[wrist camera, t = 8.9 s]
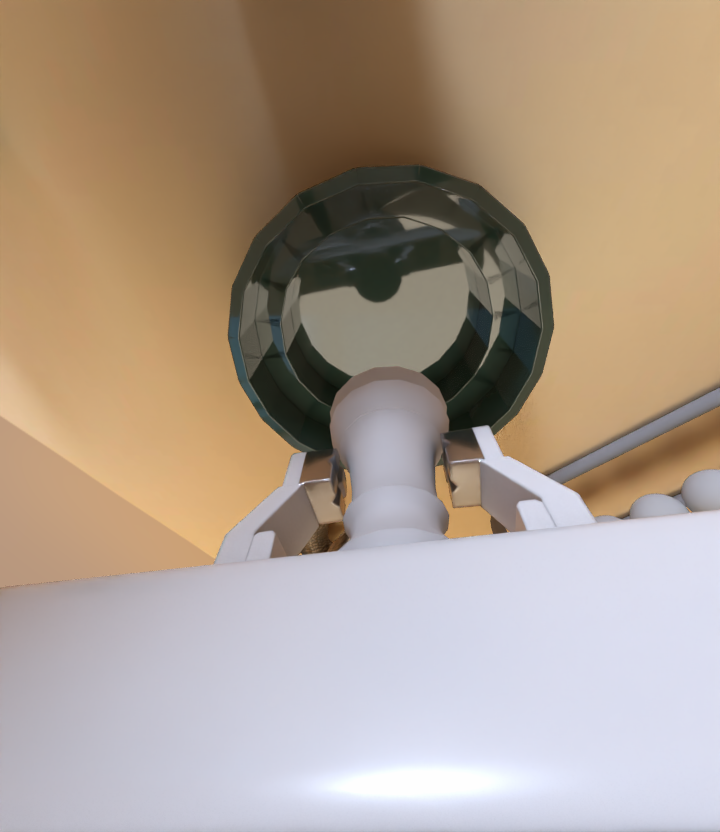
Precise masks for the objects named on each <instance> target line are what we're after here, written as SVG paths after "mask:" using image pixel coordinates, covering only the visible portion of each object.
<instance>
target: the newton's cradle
mask: <svg viewBox="0 0 720 832" xmlns="http://www.w3.org/2000/svg"><path fill="white" fill-rule="evenodd" d="M719 406H720V387H719V388H717V389H715V390H714V391H712V392H710V393H708V394H706V395H704V396H702V397H700V398H698V399H696V400H694V401H692V402H690V403H688V404H686V405H684V406H682V407H680V408H678V409H676V410H675V411H673V412H671V413H669V414H667V415H665V416H663V417H661V418H659V419H657V420H655V421H653V422H651V423H649V424H647V425H645V426H643V427H641V428H639V429H638V430H636V431H634V432H632V433H630V434H628V435H626V436H624V437H622V438H620V439H618V440H616V441H614V442H612V443H610V444H608V445H606V446H604V447H602V448H601V449H599V450H597V451H595V452H593V453H591V454H589V455H587V456H585V457H583V458H581V459H579V460H577V461H575V462H573V463H571V464H569V465H567V466H565V467H564V468H562V469H560V470H558V471H556V472H554V473H552V474H550V475H548V476H547V477H549V478H551V479H552V480H554V481H556V482H558V483H560V484H564V483H566V482H568V481H570V480H572V479H574V478H576V477H578V476H580V475H582V474H584V473H586V472H588V471H590V470H592V469H594V468H596V467H598V466H600V465H602V464H604V463H606V462H608V461H610V460H612V459H614V458H616V457H618V456H620V455H622V454H624V453H626V452H628V451H630V450H632V449H634V448H636V447H638V446H640V445H642V444H644V443H646V442H648V441H650V440H652V439H654V438H656V437H658V436H660V435H662V434H664V433H666V432H668V431H670V430H672V429H674V428H676V427H678V426H680V425H683V424H685V423H687V422H689V421H691V420H693V419H695V418H697V417H699V416H701V415H703V414H705V413H707V412H709V411H711V410H713V409H715V408H717V407H719ZM686 507H688V508H689V509H690V510H691V511H692V512H701V511H710V510H719V509H720V470H703V471H699V472H696V473H694V474H692V475H690V476H689V477H688V478H687V479H686V480H685V481H684V483H683V485H682V489H681V494H678V495H676V496H674V497H670V496H667V495H663V494H648V495H644V496H642V497H640V498H638V499H637V500H636V501H635V502H634V503H633V504H632V506H631V509H630V516H627V517H625V518H623V519H619V518H617V517H613V516H598V517H595V520H596V521H597V523H599V522H609V521H618V520H627V519H636V518H645V517H655V516H664V515H673V514H682V513H690V512H689V511H688V509H687V508H686ZM490 522H491V528H492V531H493V534H499V533H507V530H506V528H505V527H504V526H503V525H502V524H501V523H499V522H498V521H497V520H496V519H495V518H494V517H493V516H491V520H490Z"/></svg>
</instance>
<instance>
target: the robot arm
mask: <svg viewBox="0 0 720 832" xmlns="http://www.w3.org/2000/svg"><path fill="white" fill-rule="evenodd" d="M440 441H441V446H442V450H443V453H442V459H443V467H444V472H445V477H446V481H447V483H448V485H449V493H450V497H451V501H452V505H453V508H460V507H471V506H481V507H482V508H483V509H485V510H486V511H487V512H488V513H489V514H490V515H491V516H493V517H494V518H495V519H496V520H497V521H498V522H499V523H501V524H502V525H503V526H504V527H505V528H506V529H507V530H508V531H510V532H508V533H499V534H490V535H480V536H471V537H462V538H452V539H443V540H434V541H424V542H415V543H406V544H397V545H388V546H379V547H370V548H361V549H352V550H343V551H334V552H324V553H315V554H306V555H299V554H300V552H301V551H302V550H303V548H304V547H305V545H306V544H307V543H308V541H309V540H310V538H311V537H312V536H313V534H314V533H315V531H316V530H317V529H318V527H319V525H321V524H328V523H335V522H341V521H343V517H344V515H345V507H346V505H345V502H344V497H345V496H346V493H347V485H346V477H345V472H344V468H343V467H342V466H340V455H339V452H338V450H337V449H336V448H332V449H324V450H316V451H308V452H301V453H294V454H293V455H292V456H291V458H290V462H289V465H288V468H287V472H286V475H285V479H284V482H283V485H282V487H278V488H277V489H276V490H274V491H273V492H272V493H271V494H270V495H269V496H268V497H267V498H266V499H265V500H263V501H262V502H261V503H260V504H259V505H258V506H257V507H256V508H255V509H253V510H252V511H251V512H250V513H249V514H248V515H247V516H246V517H245V518H244V519H242V520H241V521H240V522H239V523H238V524H237V525H236V526H235V527H234V528H233V529H231V530H230V531H229V532H228V533H227V534H226V535H225V537H224V540H223V542H222V544H221V547H220V549H219V552H218V554H217V557H216V559H215V561H214V564H213V565H204V566H195V567H186V568H177V569H167V570H158V571H149V572H140V573H130V574H122V575H112V576H102V577H93V578H84V579H75V580H65V581H56V582H47V583H39V584H27V585H17V586H7V587H2V588H0V832H720V509H719V510H710V511H701V512H691V513H682V514H673V515H664V516H655V517H645V518H636V519H627V520H618V521H609V522H599V523H597V521H596V520H595V518H594V517H593V515H592V514H591V512H590V510H589V509H588V507H587V506H586V504H585V503H584V501H583V500H582V498H581V497H580V495H579V494H578V493H577V492H575V491H573V490H571V489H569V488H567V487H565V486H564V485H562V484H560V483H558V482H556V481H554V480H552V479H551V478H549V477H547V476H545V475H543V474H541V473H539V472H537V471H536V470H534V469H532V468H530V467H528V466H526V465H524V464H523V463H521V462H519V461H517V460H515V459H513V458H511V457H509V456H506V457H504V456H503V454H502V451H501V449H500V447H499V445H498V443H497V441H496V439H495V437H494V435H493V433H492V431H491V429H490V427H489V426H488V425H485V426H479V427H474V428H471V429H464V430H458V431H451V432H444V433H440Z"/></svg>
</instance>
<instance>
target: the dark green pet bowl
mask: <svg viewBox="0 0 720 832" xmlns="http://www.w3.org/2000/svg"><path fill="white" fill-rule="evenodd" d="M553 330H554V320H553V308H552V297H551V286H550V276H549V273H548V271H547V268H546V266H545V264H544V262H543V260H542V258H541V256H540V254H539V252H538V250H537V248H536V246H535V244H534V242H533V240H532V238H531V236H530V234H529V232H528V230H527V228H526V226H525V225H524V223H523V222H522V221H520V220H519V219H518V218H517V217H516V216H515V215H514V214H512V213H511V212H510V211H509V210H508V209H507V208H506V207H505V206H503V205H502V204H501V203H500V202H499V201H498V200H497V199H496V198H494V197H493V196H492V195H491V194H490V193H489V192H488V191H487V190H485V189H484V188H483V187H482V186H480V185H479V184H476V183H473V182H470V181H468V180H465V179H462V178H459V177H456V176H453V175H450V174H447V173H444V172H442V171H439V170H436V169H433V168H430V167H427V166H424V165H419V164H414V165H394V166H375V167H357V168H356V169H355V168H353V169H351V170H349V171H346V172H344V173H342V174H340V175H338V176H335V177H333V178H331V179H329V180H327V181H324V182H322V183H320V184H318V185H315V186H313V187H311V188H309V189H307V190H304V191H302V192H300V193H298V195H295V196H294V197H293V198H292V199H291V201H290V202H289V203H288V204H287V205H286V206H285V207H284V208H283V209H282V210H281V211H280V212H279V213H278V214H277V215H276V216H275V217H274V218H273V219H272V220H271V221H270V222H269V223H268V224H267V225H266V226H265V227H264V228H263V229H262V230H261V231H260V232H259V233H258V234H257V235H256V237H254V239H253V241H252V243H251V246H250V248H249V250H248V252H247V254H246V257H245V259H244V261H243V263H242V265H241V268H240V270H239V272H238V274H237V276H236V279H235V281H234V283H233V285H232V292H231V303H230V315H229V327H228V340H229V344H230V348H231V352H232V356H233V360H234V364H235V368H236V372H237V376H238V380H239V382H240V385H241V386H242V388H243V389H244V391H245V393H246V394H247V396H248V398H249V399H250V401H251V402H252V404H253V406H254V407H255V409H256V411H257V412H258V414H259V415H260V417H261V418H262V420H263V421H264V422H266V423H267V424H268V425H269V426H270V427H271V428H272V429H273V430H274V431H275V432H277V433H278V434H279V435H280V436H281V437H282V438H283V439H284V440H285V441H287V442H288V443H289V444H290V445H291V446H293V447H294V448H296V449H298V450H300V451H301V452H308V451H316V450H324V449H332V448H333V445H332V439H331V432H330V423H331V416H330V411H331V408H332V405H333V402H334V399H335V396H336V393H337V392H338V391H339V390H340V389H341V388H342V387H343V386H344V385H345V384H346V383H347V382H348V381H349V380H350V379H351V378H352V377H354V376H356V375H358V374H360V373H363V372H365V371H367V370H370V369H372V368H376V367H394V366H400V367H403V368H406V369H409V370H412V371H415V372H419V373H422V374H423V375H424V376H425V377H426V378H428V379H429V380H430V381H431V382H432V383H433V384H435V385H436V386H437V387H438V388H439V390H440V392H441V394H442V397H443V399H444V401H445V403H446V406H447V412H446V414H447V416H448V418H449V430H448V432H451V431H458V430H464V429H471V428H474V427H479V426H485V425H488V426H489V427H490V429H491V431H492V433H493V435H495V434H496V433H497V432H498V431H500V430H501V429H502V428H503V427H504V426H505V425H506V424H507V423H508V422H509V421H510V420H511V419H513V418H514V417H515V416H516V415H517V413H519V411H520V409H521V408H522V406H523V404H524V403H525V401H526V400H527V398H528V396H529V395H530V393H531V391H532V390H533V388H534V387H535V385H536V383H537V382H538V380H539V378H540V377H541V375H542V373H543V369H544V365H545V361H546V357H547V353H548V349H549V345H550V341H551V337H552V333H553ZM440 465H443V459H442V455H441V458H440V460H439V462H438V464H437V465H436V466H440ZM340 466H342V467H343V468H344V469H346V467H345V466H344V465H343V463H342V462H341V460H340Z"/></svg>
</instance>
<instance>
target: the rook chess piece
mask: <svg viewBox="0 0 720 832" xmlns="http://www.w3.org/2000/svg"><path fill="white" fill-rule="evenodd" d="M446 412H447V406H446V403H445V401H444V399H443V397H442V394H441V392H440V390H439V388H438V387H437V386H436V385H435V384H433V383H432V382H431V381H430V380H429V379H428V378H426V377H425V376H424V375H423V374H422V373H419V372H415V371H412V370H409V369H406V368H403V367H400V366H394V367H376V368H372V369H370V370H367V371H365V372H363V373H360V374H358V375H356V376H354V377H352V378H351V379H350V380H349V381H348V382H347V383H346V384H345V385H344V386H343V387H342V388H341V389H340V390H339V391H338V392H337V393H336V396H335V399H334V402H333V405H332V408H331V411H330V416H331V423H330V432H331V439H332V445H333V448H336V449H337V450H338V452H339V455H340V460H341V462H342V463H343V465H344V466H345V467H346V469H347V470H348V472H349V473H350V478H351V486H352V502H351V503H350V504H349V506H348V508H347V510H346V512H345V515H344V517H343V522H344V529H345V533H346V534H347V535H348V537H349V538H350V540H349V541H348V542H347V543H346V544H344V545H343V546H342V547H341V548H340V549H339V550H338V551H343V550H352V549H361V548H370V547H379V546H388V545H397V544H406V543H415V542H424V541H434V540H443V539H449V538H447V537H446V536H445V535H444V534H445V533H446V531H447V530H448V523H449V514H448V512H447V510H446V508H445V506H444V504H443V502H442V501H441V500H439V499H438V498H437V493H436V489H435V467H436V465H437V464H438V462H439V460H440V458H441V455H442V453H443V450H442V446H441V441H440V433H444V432H448V430H449V418H448V416H447V414H446Z"/></svg>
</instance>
